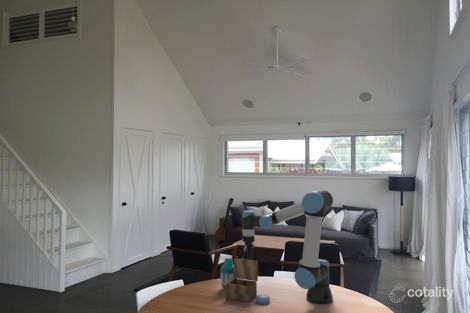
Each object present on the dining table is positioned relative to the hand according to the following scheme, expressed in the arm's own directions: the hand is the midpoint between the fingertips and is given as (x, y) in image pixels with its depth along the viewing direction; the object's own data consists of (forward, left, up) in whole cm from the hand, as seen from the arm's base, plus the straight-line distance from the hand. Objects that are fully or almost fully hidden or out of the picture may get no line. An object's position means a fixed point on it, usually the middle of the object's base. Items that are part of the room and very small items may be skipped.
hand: (248, 273), depth 229 cm
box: (0, +12, -12) cm, 16 cm away
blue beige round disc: (-14, +13, -12) cm, 22 cm away
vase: (+14, +1, -12) cm, 18 cm away
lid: (0, +7, +4) cm, 8 cm away
